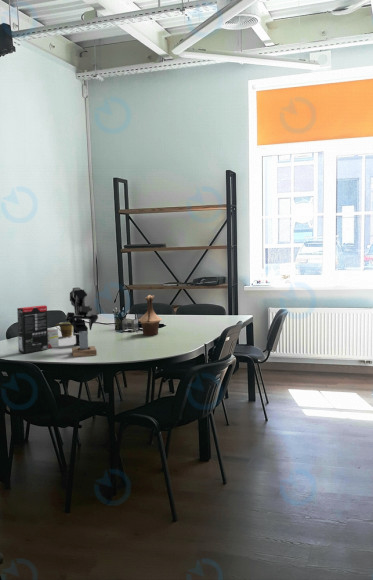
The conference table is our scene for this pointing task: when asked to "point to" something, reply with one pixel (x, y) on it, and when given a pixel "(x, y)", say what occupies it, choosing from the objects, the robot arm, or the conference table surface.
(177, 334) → the conference table surface
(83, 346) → the grey rectangular block
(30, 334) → the graphics card box
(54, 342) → the ink box
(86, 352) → the post foot
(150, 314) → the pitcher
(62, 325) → the ceramic cup
